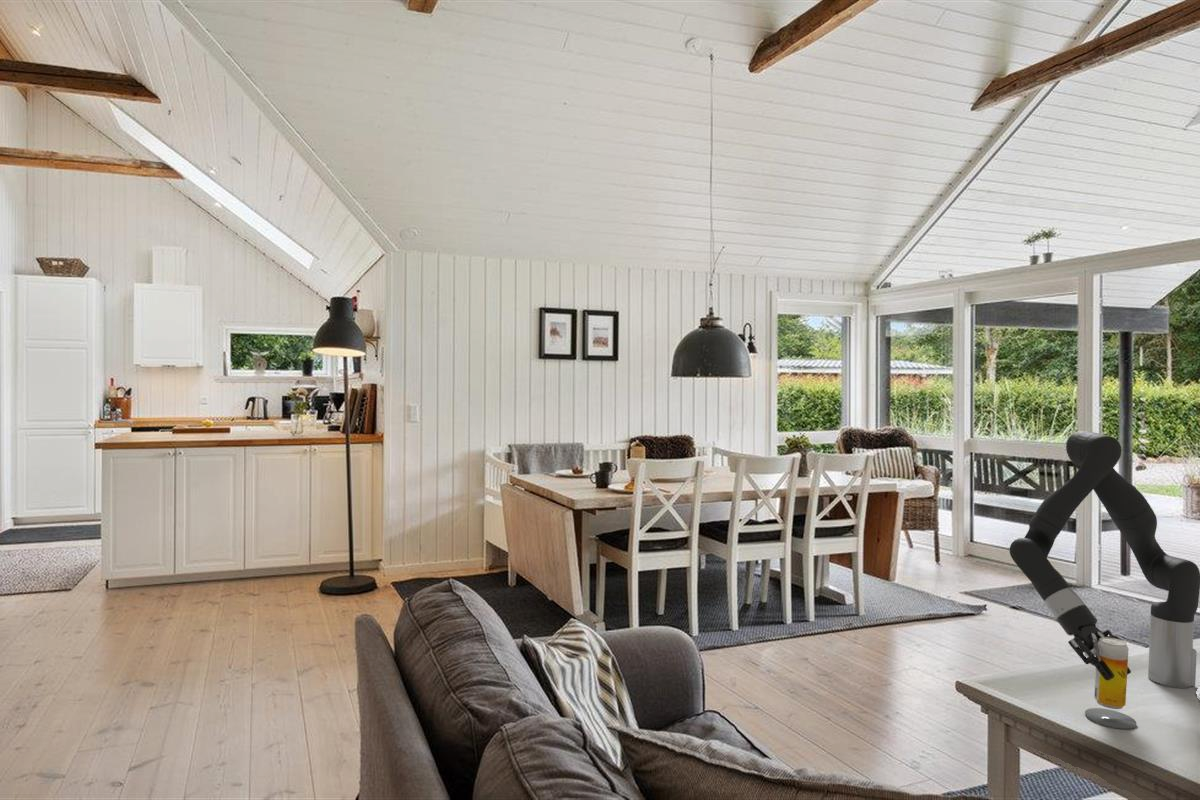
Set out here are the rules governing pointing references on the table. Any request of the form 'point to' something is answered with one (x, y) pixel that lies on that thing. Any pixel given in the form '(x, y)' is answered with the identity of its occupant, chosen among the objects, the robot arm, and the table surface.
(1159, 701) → the table surface
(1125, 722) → the slate coaster
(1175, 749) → the table surface
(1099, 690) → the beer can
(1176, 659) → the robot arm
